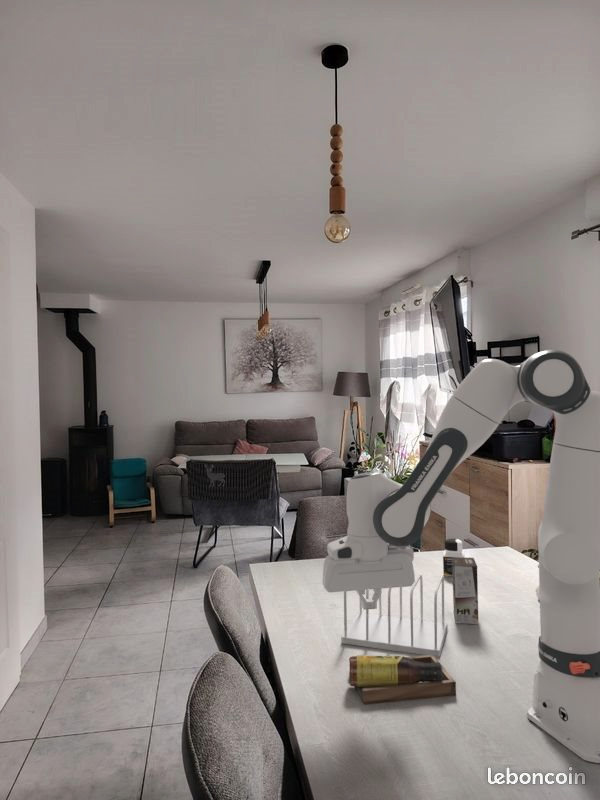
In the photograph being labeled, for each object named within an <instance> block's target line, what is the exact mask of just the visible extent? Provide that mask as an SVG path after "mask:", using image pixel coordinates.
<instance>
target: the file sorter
mask: <svg viewBox="0 0 600 800" xmlns="http://www.w3.org/2000/svg"><path fill="white" fill-rule="evenodd" d="M439 577H440V578H439V580H438V581H437V584H436V588H435V590H434V600H433V601H434V602H433V603H434V605H433V607H434V611H433V612H434V616H433V617H434V620H433V621H432V620H426V619H425V620H424V616H423V615H424V608H423V606H424V604H423V603H424V602H423V601H424V599H423V595H424V594H423V586H424V585H423V576H422V574H418V576H417V577H416V579H415V582H414V583H413V585H412V586H411V587H410V588H411V589H410V596H409V604H410V605H409V606H410V607H409V609H410V612H409V613H410V614H409V615H410V617H403V587H399V616H395V615H393V616H392V615H391V592H392V588H388V591H387V615H385V614H383V613H382V594H381V595H380V597H379V599H378V605H379V606H378V607H379V609H378V611H379V614H376V613H369V610H370V609H366V610H365V612H363V608H362V600H361V598H360V597H359V612H357V613H356V615H355V617H354V618H353V619H352V620H351V622H350V623H349V625H347V624H348V622H347V621H348V618H347V616H348V615H347V592H348V591H343V617H344V618H343V620H344V621H343V626H344V629H343V630H344V632H343V634H342V635H341V638H340V639H341V641H340V642H341V644H346V645H351V646H359V647H366V648H373V649H379V650H386V651H394V652H400V653H401V652H402V653H409V654H414V653H415V654H416V655H421V654H423V655H434V656H435V657H436V658H440V657H441V654H442V650H443V646H444V643H445V640H446V635H447V631H448V629H449V628H448V622H445V581H444V580H445V578H444V575H441V576H439ZM419 582H420V583H419ZM418 583H419V586H420V587H419V588H420V590H419V591H420V619H417V618H414V609H413V607H414V606H413V603H414V602H413V597H414V596H413V595H414V590H415V587H416V586H417V584H418ZM440 586H441V622H440V621H438V616H437V615H438V608H437V607H438V592H439V589H440ZM369 592H370V589H369V590H365V599H370V598H369V596H370V595H369ZM423 655H422V656H423Z"/></svg>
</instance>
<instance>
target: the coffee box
mask: <svg viewBox="0 0 600 800" xmlns="http://www.w3.org/2000/svg"><path fill="white" fill-rule="evenodd" d="M452 575H453V576H452V597H453V598H452V601H453V603H452V604H453V614H454V621H455V623H456V624H467V625H470V624H471V625H479V592H478V590H479V589H478V587H479V585H478V584H479V582H478V564H477V562H476V561H475V558H474V557H464V558H452Z"/></svg>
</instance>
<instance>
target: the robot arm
mask: <svg viewBox="0 0 600 800" xmlns="http://www.w3.org/2000/svg"><path fill="white" fill-rule="evenodd" d="M520 402H527V403H530V404H532V405H535V406H538V407H541V408H547V409H548V410H551V411H552V412H553V415H554V418H555V419H554V420H555V432H554V436H553V443H552V448H551V449H552V450H551V455H550V461H549V462H550V463H549V467H548V468H549V469H548V473H547V480H546V489H545V490H546V491H545V498H544V504H543V512H542V519H541V522H540V524H539V527H538V530H537V542H538V544H537V546H538V547H537V548H538V549H537V550H538V565H539V568H538V575H539V576H538V579H539V580H538V586H539V588H540V600H539V617H540V619H539V621H540V622H539V623H540V624H539V625H540V635H539V636H538V644H537V649H538V657H539V659H540V660H539V664H538V667H537V669H536V670H535V672H534V675H533V689H532V690H533V691H532V705H531V707H530V708H529V709H528V710H527V714H526V715H527V719H528V720H530V721H531V722H532V723H534V724H535V725H537V726H538V727H539V728H540V729H542V730H543V731H544V732H546V733H547V734H548V735H550V736H551V737H553V738H554V739H555V740H557V741H558V742H559V743H561V745H563V746H565V747H566V748H567V749H568V750H570V751H571V752H572V753H574V754H575V755H576V756H578V757H580V758H581V759H582V760H584V761H586V762H591V763H595V764H600V574H599V573H600V391H597V390H593V389H592V390H591V387H590V384H589V382H588V381H587V379H586V376H585V373H584V371H583V369H582V367H581V365H580V364H579V362H578V361H577V360H576V359H575V357H573V356H572V355H571V354H570V353H568V352H565V351H563V350H562V351H561V350H558V349H546V350H542V351H539V352H537V353H536V352H535V353H534V354H533V355H530V356H529V357H528V358H527V359H525V360H524V361H523V362H520V363H518V364H517V365H511V364H509V363H507V362H505V361H504V360H500V359H496V358H485V359H483V360H481V361H480V362H479V363H477V364H476V365H475V366H474V368H473V369H471V371H470V372H468V374H467V375H466V376H465V378H463V379H462V381H461V382H460V383H459V385H458V386H457V387H456V388H455V390H454V392H453V393H452V395H450V397H449V399H448V401H447V402H446V404H445V406H444V408H443V410H442V412H441V414H440V416H439V419H438V421H437V424H436V426H435V428H434V431H433V432H432V436H431V438H430V441H429V444H428V446H427V448H426V451H425V452H424V453H423V455H422V457H421V458H420V459H419V461H418V463H417V464H416V466H414V469H413V470H412V471H411V473H410V474H409V476H408V477H407V478H406V480H405V481H404V483H403V484H402V483H399V482H397V481H395V480H393V479H391V478H390V477H387V476H386V475H385V473H383V472H381V471H378V470H377V471H376V470H375V471H374V470H373V471H366V472H361V473H358V474H355V475H354V476H353V477H351V478H350V480H348V483H347V489H346V515H347V519H348V524H347V525H348V526H347V532H346V535H345V536H344V537H342V538H339V539H336V540H333V541H330V542H329V543H328V544H327V546H326V548H327V554H328V555H326V557H325V558H324V561H323V568H322V586H323V588H324V589H325V591H326V592H328V593H340V592H343V593H344V591H347V592H353V591H356V593H357V594H358V596H359V599H360V598H361V600H362V610H363V611H366V609H369V610H377V608H378V603H377V602H379V597H380V595H381V596H382V589H389V588H391V589H394V588H400V587H402V588H405V587H406V588H407V587H412V586H413V584H414V583H415V581H416V579H415V578H416V577H415V569H414V563H413V561H414V559H415V557H414V556H415V555H414V554H415V553H414V549H413V547H412V544H414V543H416V542H417V541H418V540H419V538H420V537H421V535H422V533H423V531H424V528H425V526H426V524H427V522H428V520H429V519H430V516H431V514H432V505H431V503H432V502H433V500H434V498H435V497H436V495H437V494H438V493H439V491H440V490H441V488H442V486H443V485H444V484H445V482H446V481H447V479H448V478H449V476H451V474H452V473H453V472H454V470H455V469H456V468H458V466H459V465H460V464H462V463H463V462H464V461H465V460H466V459H468V458H469V457H470V456H471V455H472V454H474V453H475V452H476V451H477V450H478V449H479V448H480V447H482V445H484V444H485V442H487V440H488V439H490V437H491V436H492V434H493V433H494V432H495V431H496V430H497V428H498V427H499V426H500V424H501V423H502V421H503V420H504V417H506V415H507V414H508V412H509V411H510V410H511V409H512V408H513V407H514V406H515V405H517V404H518V403H520ZM366 590H369V591H370V590H372V591H373V592H374V593H373V595H372V597H371V598H369V599H366V597H364V596H365V595H366Z"/></svg>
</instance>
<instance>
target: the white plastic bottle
mask: <svg viewBox="0 0 600 800" xmlns="http://www.w3.org/2000/svg"><path fill="white" fill-rule="evenodd" d="M452 558H465V551H464V550H463V541H462V540H460V539H459V538H447V539H445V540H444V551H443V553H442V565H443V566H442V567H443V571H442V572H443V577H444V576H446V577H453V575H452Z"/></svg>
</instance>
